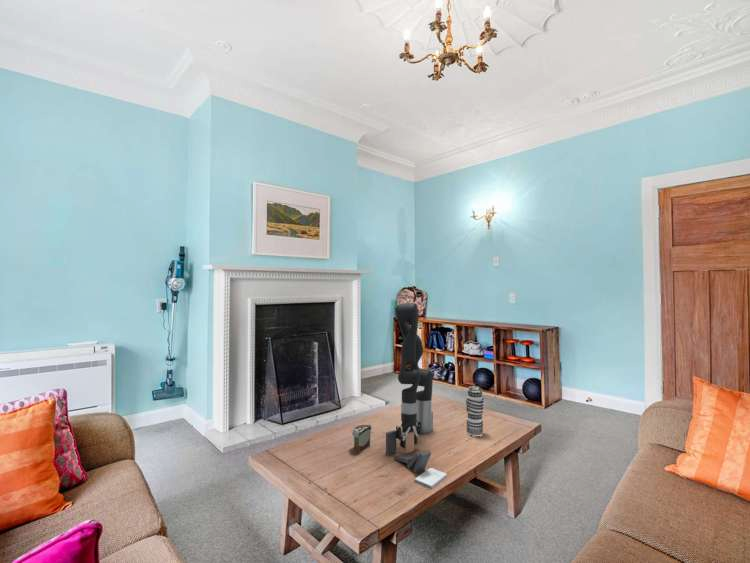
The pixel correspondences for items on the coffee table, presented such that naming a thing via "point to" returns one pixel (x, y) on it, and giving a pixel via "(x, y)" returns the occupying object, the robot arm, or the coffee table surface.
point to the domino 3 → (409, 442)
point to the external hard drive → (430, 478)
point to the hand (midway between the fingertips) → (408, 445)
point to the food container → (361, 437)
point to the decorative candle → (474, 411)
